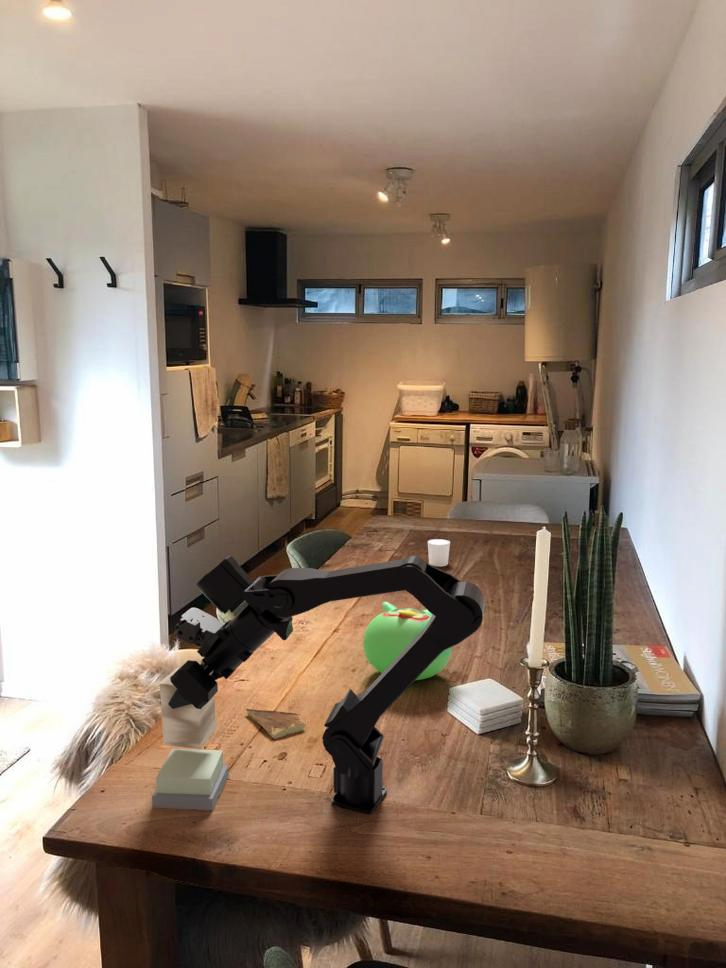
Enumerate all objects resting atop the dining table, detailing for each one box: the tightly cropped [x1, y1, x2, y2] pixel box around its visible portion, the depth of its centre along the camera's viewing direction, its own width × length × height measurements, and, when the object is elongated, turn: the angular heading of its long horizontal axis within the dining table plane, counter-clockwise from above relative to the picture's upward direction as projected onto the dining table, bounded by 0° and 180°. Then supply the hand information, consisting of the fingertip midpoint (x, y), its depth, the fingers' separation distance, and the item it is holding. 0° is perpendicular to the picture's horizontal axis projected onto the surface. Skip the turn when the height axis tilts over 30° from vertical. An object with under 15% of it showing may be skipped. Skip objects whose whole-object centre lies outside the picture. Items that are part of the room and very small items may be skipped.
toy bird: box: [362, 601, 453, 681], centre depth 155 cm, size 18×17×15 cm
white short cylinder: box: [427, 538, 451, 568], centre depth 233 cm, size 7×7×7 cm
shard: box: [245, 708, 307, 740], centre depth 138 cm, size 11×8×2 cm
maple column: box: [159, 666, 217, 750], centre depth 118 cm, size 6×6×10 cm
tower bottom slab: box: [151, 764, 230, 811], centre depth 116 cm, size 9×9×2 cm
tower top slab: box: [155, 748, 224, 795], centre depth 116 cm, size 8×8×2 cm
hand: (179, 696), depth 118 cm, fingers closed on maple column, 6 cm apart
